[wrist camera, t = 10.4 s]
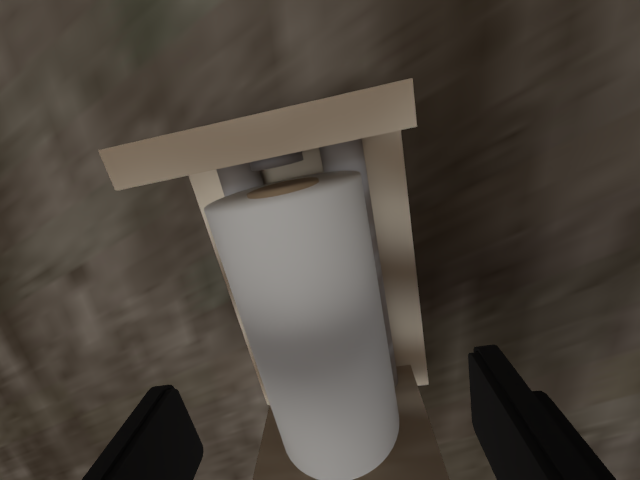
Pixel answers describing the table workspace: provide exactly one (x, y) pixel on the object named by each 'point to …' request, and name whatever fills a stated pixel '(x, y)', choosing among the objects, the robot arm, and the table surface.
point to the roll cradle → (383, 216)
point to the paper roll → (313, 317)
